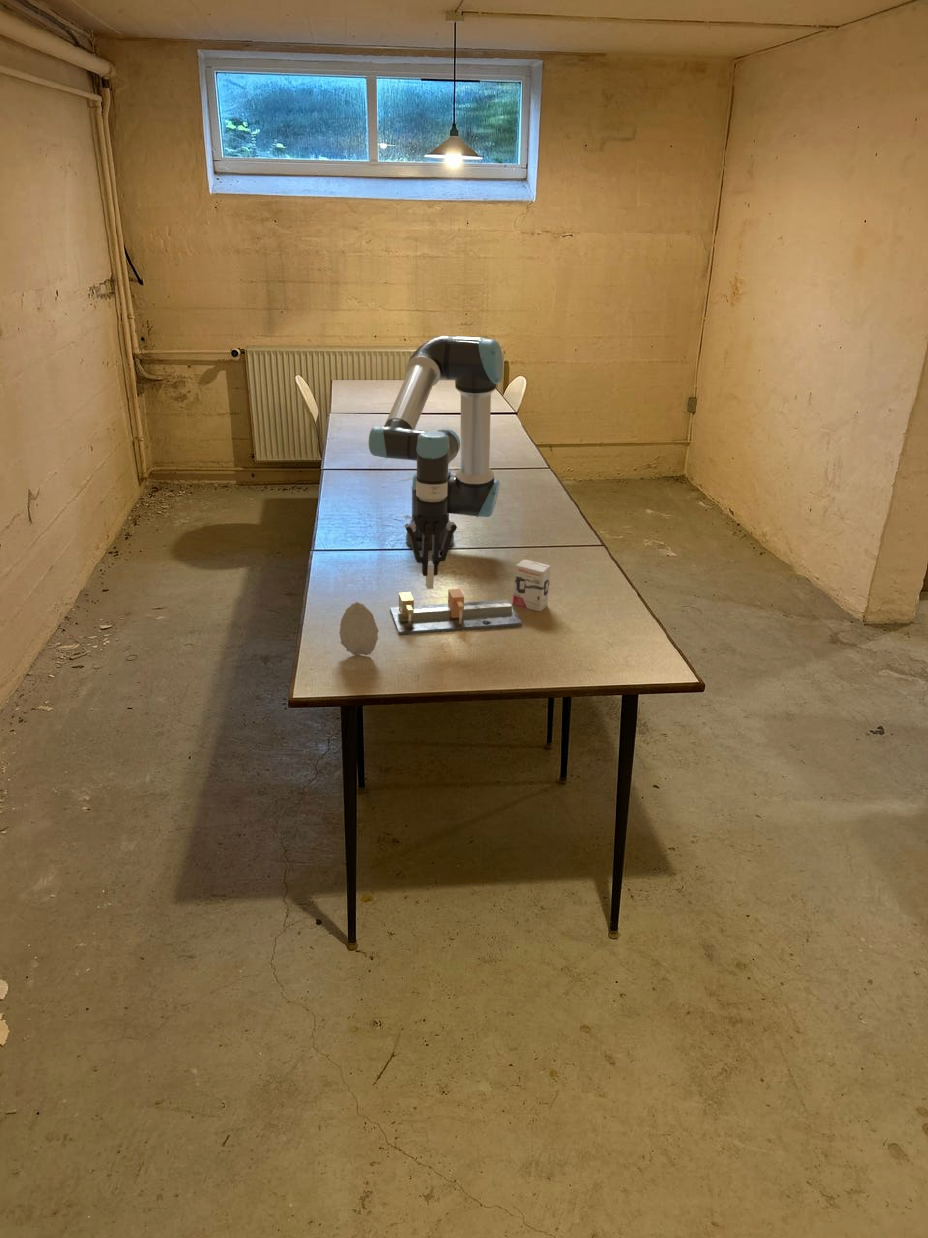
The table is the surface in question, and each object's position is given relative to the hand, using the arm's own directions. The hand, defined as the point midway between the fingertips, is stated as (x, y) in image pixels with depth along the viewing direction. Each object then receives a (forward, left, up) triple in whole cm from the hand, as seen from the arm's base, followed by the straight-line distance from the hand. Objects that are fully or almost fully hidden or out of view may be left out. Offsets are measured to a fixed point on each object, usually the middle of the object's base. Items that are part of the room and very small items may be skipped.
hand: (429, 586), depth 215 cm
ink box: (-5, +29, -10) cm, 31 cm away
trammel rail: (+2, +7, -9) cm, 11 cm away
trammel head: (+2, +7, -8) cm, 11 cm away
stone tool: (+16, -20, -10) cm, 27 cm away
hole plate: (0, +7, -10) cm, 12 cm away
